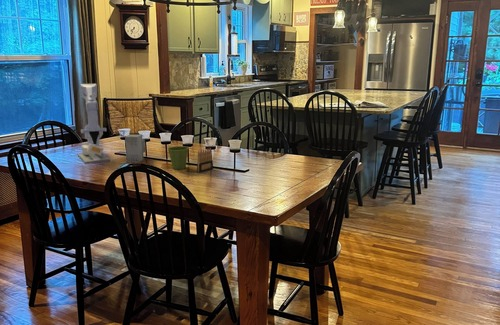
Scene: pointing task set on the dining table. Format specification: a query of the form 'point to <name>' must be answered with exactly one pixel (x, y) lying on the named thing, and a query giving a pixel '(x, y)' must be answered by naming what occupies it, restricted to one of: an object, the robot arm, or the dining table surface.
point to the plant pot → (178, 156)
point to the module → (95, 149)
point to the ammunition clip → (204, 161)
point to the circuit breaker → (134, 148)
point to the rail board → (91, 156)
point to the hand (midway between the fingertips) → (94, 143)
